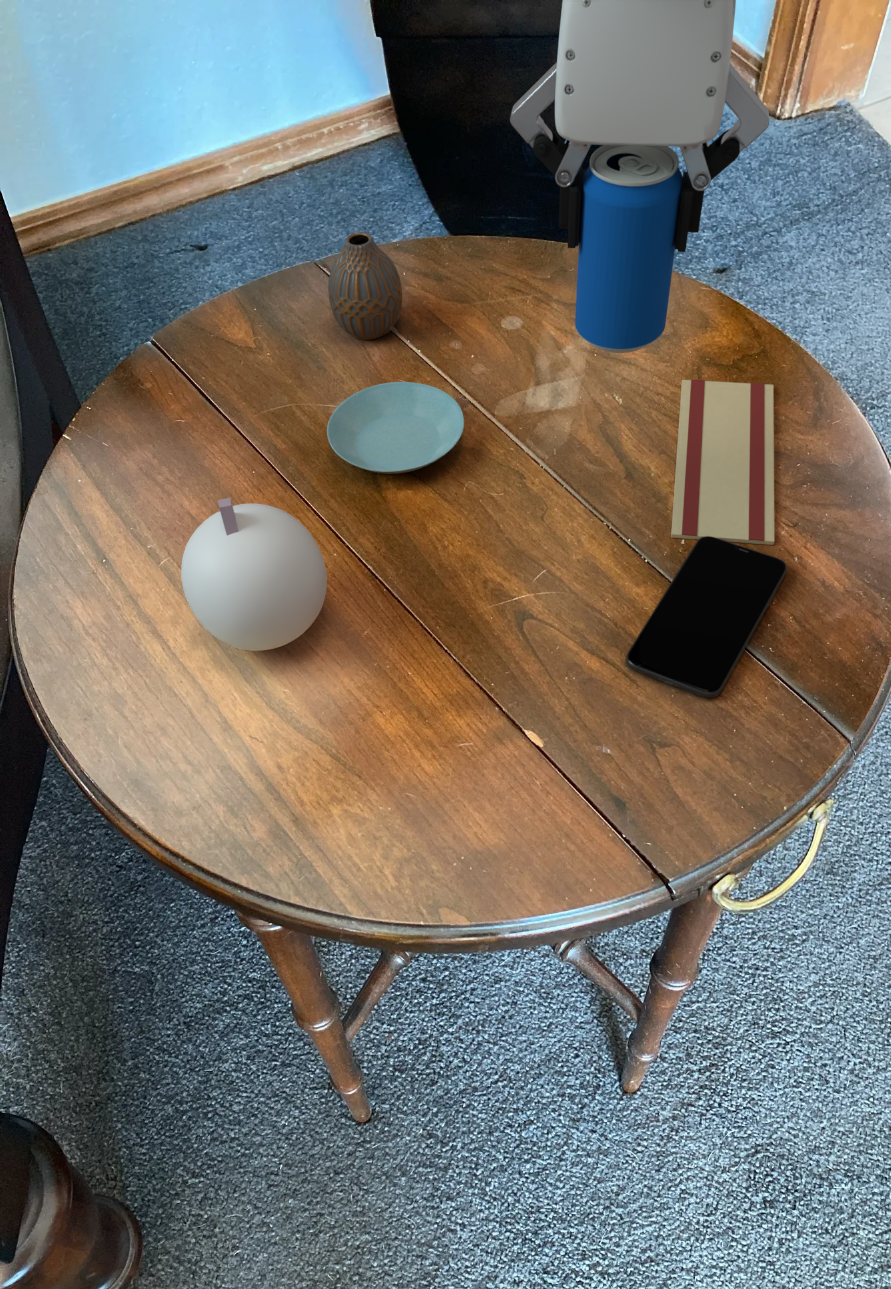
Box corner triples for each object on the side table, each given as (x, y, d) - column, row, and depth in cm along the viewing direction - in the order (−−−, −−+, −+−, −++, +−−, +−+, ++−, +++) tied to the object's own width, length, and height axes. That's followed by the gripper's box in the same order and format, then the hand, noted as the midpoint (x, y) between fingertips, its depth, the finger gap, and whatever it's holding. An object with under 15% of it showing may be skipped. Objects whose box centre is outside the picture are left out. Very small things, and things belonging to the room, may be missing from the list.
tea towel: (772, 388, 96) (773, 383, 95) (773, 545, 85) (774, 540, 84) (681, 383, 97) (682, 378, 96) (670, 537, 86) (671, 533, 86)
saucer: (414, 509, 89) (412, 487, 87) (303, 461, 93) (298, 440, 92) (490, 429, 95) (490, 407, 93) (382, 388, 99) (379, 366, 97)
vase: (409, 307, 106) (401, 218, 98) (400, 349, 102) (391, 260, 95) (339, 306, 106) (327, 218, 99) (328, 348, 102) (314, 259, 95)
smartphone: (715, 705, 76) (790, 569, 83) (717, 697, 76) (792, 561, 82) (619, 668, 79) (700, 538, 85) (620, 660, 78) (701, 530, 85)
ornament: (177, 620, 84) (132, 499, 74) (288, 559, 87) (259, 435, 77) (246, 699, 79) (207, 581, 69) (360, 632, 82) (339, 510, 72)
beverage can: (614, 296, 81) (627, 125, 71) (682, 329, 78) (706, 156, 68) (556, 335, 78) (561, 164, 69) (624, 371, 76) (641, 197, 66)
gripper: (820, -117, 59) (758, 213, 73) (504, -113, 61) (506, 206, 76) (825, -63, 55) (759, 275, 69) (486, -62, 57) (492, 265, 72)
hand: (627, 236), depth 72 cm, fingers closed on beverage can, 6 cm apart
